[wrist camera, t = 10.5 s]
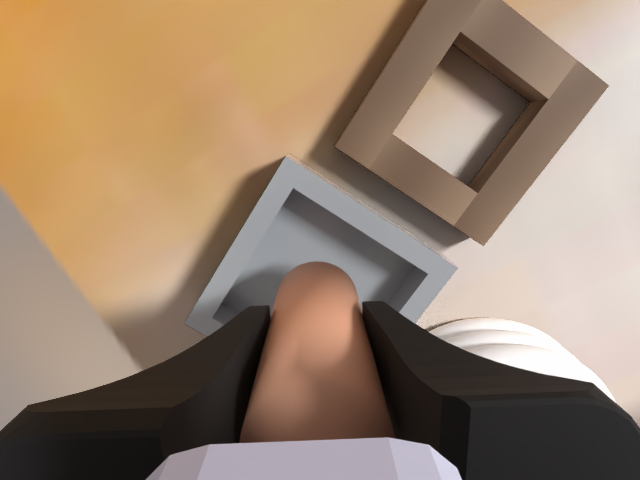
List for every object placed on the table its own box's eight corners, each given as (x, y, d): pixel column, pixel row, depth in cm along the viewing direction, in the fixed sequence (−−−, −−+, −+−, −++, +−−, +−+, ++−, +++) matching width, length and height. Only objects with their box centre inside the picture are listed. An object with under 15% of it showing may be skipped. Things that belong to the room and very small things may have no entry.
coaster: (547, 492, 20) (594, 565, 16) (359, 481, 20) (367, 553, 16) (598, 320, 17) (667, 364, 14) (383, 305, 17) (399, 346, 14)
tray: (441, 252, 16) (458, 268, 14) (342, 382, 18) (345, 412, 16) (289, 154, 15) (285, 155, 13) (199, 302, 17) (183, 323, 15)
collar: (585, 90, 14) (609, 85, 13) (471, 238, 16) (483, 245, 15) (441, -24, 13) (452, -39, 12) (333, 146, 15) (335, 146, 14)
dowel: (356, 259, 14) (396, 378, 7) (357, 334, 14) (394, 507, 8) (273, 262, 14) (231, 384, 7) (279, 337, 14) (246, 513, 8)
